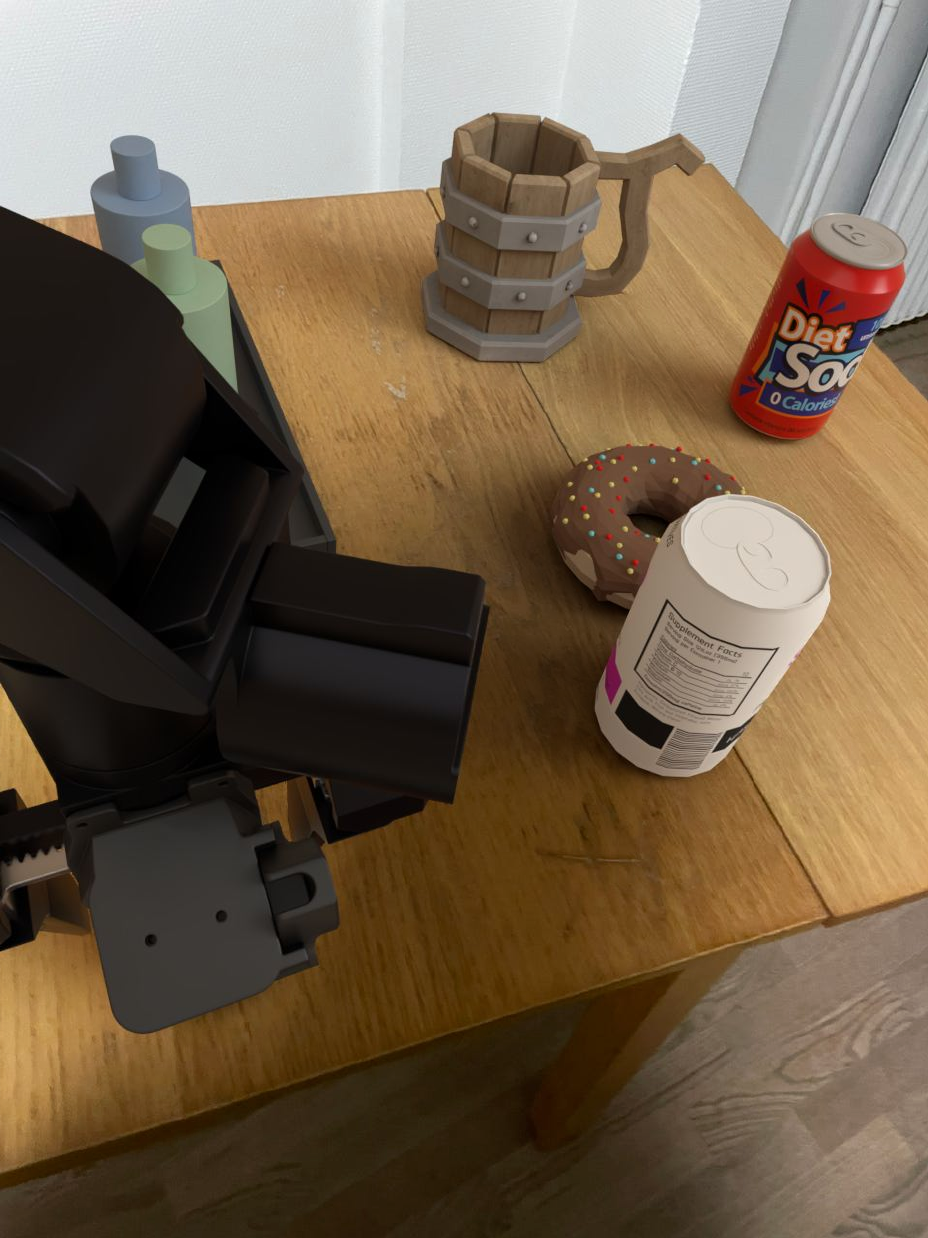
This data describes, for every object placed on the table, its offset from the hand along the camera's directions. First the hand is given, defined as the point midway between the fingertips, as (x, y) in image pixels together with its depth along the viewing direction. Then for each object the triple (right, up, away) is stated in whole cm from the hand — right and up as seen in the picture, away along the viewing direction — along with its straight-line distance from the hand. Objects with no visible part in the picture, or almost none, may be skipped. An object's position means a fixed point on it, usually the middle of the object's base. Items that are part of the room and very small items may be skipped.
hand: (196, 887), depth 39 cm
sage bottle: (-8, +26, +25) cm, 37 cm away
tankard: (+18, +37, +38) cm, 55 cm away
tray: (-8, +26, +25) cm, 37 cm away
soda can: (+36, +28, +33) cm, 56 cm away
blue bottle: (-12, +34, +30) cm, 47 cm away
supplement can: (+23, +6, +14) cm, 28 cm away
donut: (+24, +16, +22) cm, 37 cm away
